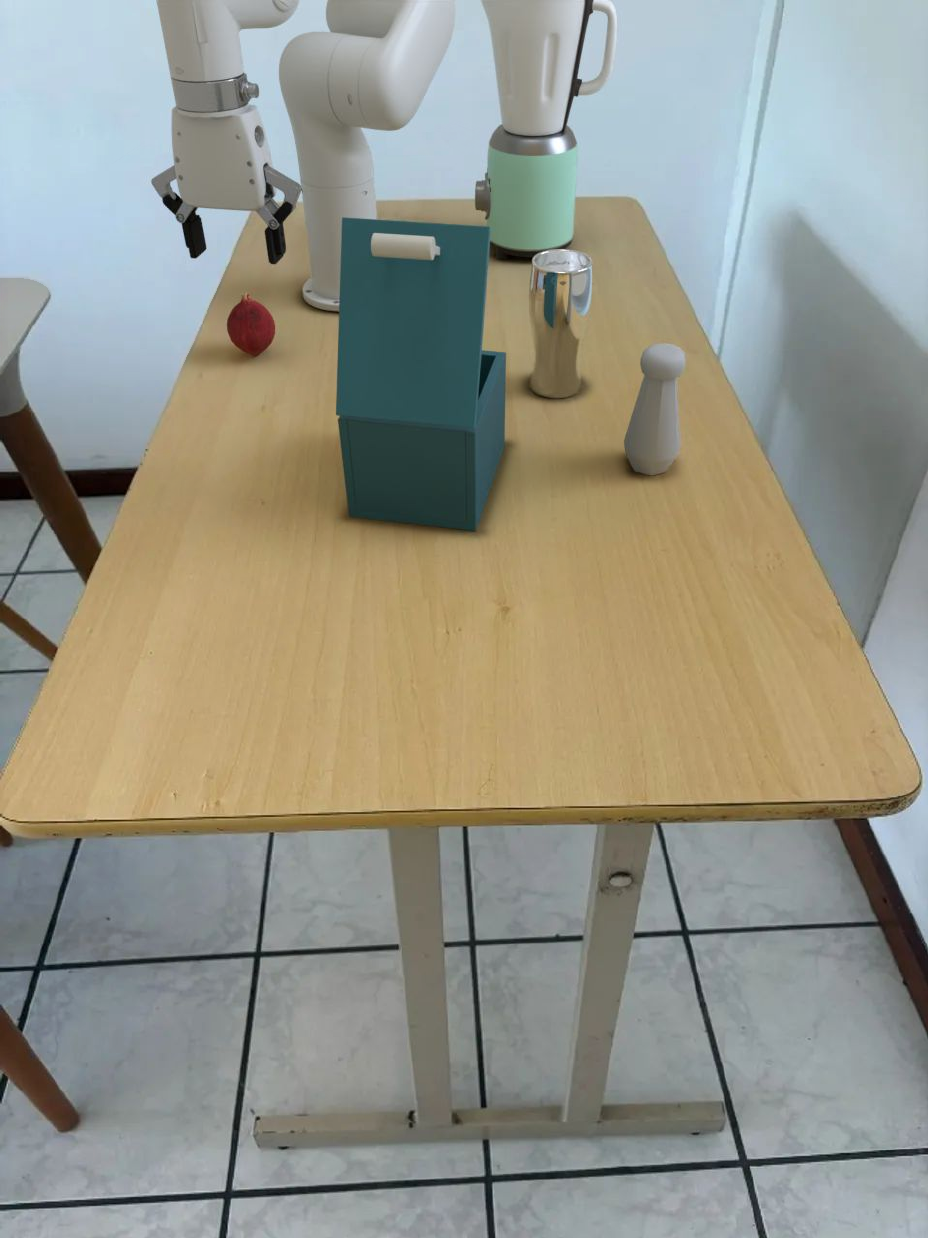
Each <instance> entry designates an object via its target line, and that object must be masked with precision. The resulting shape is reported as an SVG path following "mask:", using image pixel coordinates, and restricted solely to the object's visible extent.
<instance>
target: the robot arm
mask: <svg viewBox="0 0 928 1238" xmlns="http://www.w3.org/2000/svg"><path fill="white" fill-rule="evenodd" d="M300 2H301V1H300V0H156V5H157V10H158V15H159V21H160V27H161V33H162V37H163V42H164V43H163V44H164V49H165V54H166V59H167V65H168V71H169V75H170V81H171V84H172V91H173V97H174V102H175V106H174V107H173V108H172V109H171V146H172V156H173V157H172V159H173V165H171V166H170V167H169V168H167V169H165V170H163V171H162V172H160V173H158V174H157V175H155V176H154V177H153V178H152V179H151V181H150V182H151V185H152V187H153V188H154V190H155V191H156V193H157V194H158V196H159V197H160V198H161V200H162V204H163V206H165V207H166V208H167V209H168V210H169V211H170V212H171V213H172V214H173V215H174V216H175V217H174V218H175V220H176V221H177V222H178V223H179V224H181V228H182V234H183V238H184V239H183V240H184V243H185V247H186V248H187V249H188V254H189V257H190V259H197V258H199V257H200V256H201V255H202V254H204V252H205V251H206V250H207V242H206V237H205V232H204V227H203V221H202V218H201V215H200V214H197V210H198V209H199V208H200V209H210V210H211V209H213V210H225V211H226V210H228V211H241V212H242V211H246V212H256V214H258V216H259V217H260V218H261V220H262V221H264V223H265V224H266V225H267V227H266V228H265V229H264V239H265V246H266V252H267V259H268V260H267V261H268V263H269V264H270V265H277V264H278V263H279V261H280V260H281V259H282V258H284V255H285V254H286V252H287V243H286V235H285V228H284V222H285V221H286V220H287V219H288V217H289V216H290V215H291V214H292V213H293V212H294V210H295V209H296V207H297V203H298V201H299V197H300V195H301V197H302V205H303V212H304V213H303V214H304V221H305V230H306V237H307V245H308V246H307V247H308V254H309V262H310V263H309V264H310V271H311V277H310V278H308V279H307V280H306V281H305V283H304V284H303V286H302V289H301V290H302V297H303V300H304V301H305V302H306V303H307V304H308V305H310V306H312V307H314V308H316V309H320V310H324V311H327V312H336V313H339V299H340V267H341V235H342V218H343V217H345V218H362V219H378V211H377V199H376V197H377V196H376V184H375V183H376V182H375V167H374V159H373V154H372V151H371V148H370V144H369V142H368V140H367V137H366V136H365V134H364V132H363V130H362V129H368V130H375V131H383V132H384V131H385V132H386V131H387V132H392V131H397V130H401V129H403V128H404V127H406V126H407V125H408V124H409V123H410V122H411V121H412V120H413V118H414V117H415V115H416V113H417V112H418V110H419V109H420V106H421V104H422V102H423V100H424V98H425V97H426V94H427V93H428V90H429V88H430V87H431V84H432V82H433V80H434V78H435V76H436V73H437V72H438V70H439V68H440V66H441V64H442V62H443V60H444V57H445V55H446V54H447V51H448V48H449V47H450V44H451V40H452V37H453V32H454V28H455V23H456V22H455V21H456V0H327V1H326V7H325V21H326V25H327V27H328V29H329V31H309V32H303V33H301V34H298V35H296V36H294V37H293V38H292V39H291V40H290V41H288V43H287V44H286V45H285V47H284V48H283V50H282V53H281V55H280V59H279V63H278V80H279V86H280V92H281V95H282V99H283V102H284V105H285V110H286V111H287V115H288V118H289V122H290V125H291V130H292V133H293V134H292V135H293V138H294V144H295V148H296V150H295V151H296V156H297V157H296V158H297V163H298V171H299V172H298V173H299V179H300V180H299V181H300V183H298V182H296V181H295V180H294V179H292V178H290V177H289V176H288V175H287V176H286V175H285V174H283V173H282V172H280V171H278V170H276V168H274V165H273V159H272V155H271V150H270V146H269V142H268V139H267V135H266V131H265V127H264V124H263V121H262V118H261V114H260V112H259V109H258V106H257V105H256V104H249V102H250V101H251V100H252V99H258V98H259V96H260V88H259V85H258V83H253V82H251V81H249V80H248V76H247V75H248V74H247V73H245V67H244V60H243V52H242V46H241V39H240V31H242V30H251V29H252V30H253V29H272V28H277V27H279V26H281V25H283V24H285V23H286V22H287V21H288V20H290V18H292V16H293V15H294V14H295V12H296V10H297V9H298V6H299V3H300ZM174 180H176V185H177V189H178V192H179V195H178V193H176V192H175V191H174V190H173V188H172V186H171V183H172V182H173V181H174ZM277 189H278V190H279V191H281V192H282V193H283V195H284V197H283V201H282V204H281V205H279V204H278V202H276V201H275V199H274V198H275V197H276V196H277Z"/></svg>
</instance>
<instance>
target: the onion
mask: <svg viewBox="0 0 928 1238" xmlns="http://www.w3.org/2000/svg"><path fill="white" fill-rule="evenodd" d="M226 330H227V334H228V337H229V339H230V341H231V343H232V344H233V345H234V347H236V348H237V349H239V350H240V351H241V352H243V353H245V354H247V355H250V356H252V357H258V356H260V355H261V354H262V353H264V351H266V350H267V349H268V348H269V347H270V345H271V344H272V343H273V340H274V338H275V335H276V322H275V320H274V317H273V315H272V313H271V312H270V311H269V309H268V308H267V307H266V306H265V305H264V304H262V303H261V302H259V301H257V300H254V299H252V294H251V293H249V292H246V291H245V292H243V293H242V294H241V298H240V302H238V303H237V304H236V305H234V306H233V308H232V309H231V310H230V313H229V314H228V317H227V319H226Z"/></svg>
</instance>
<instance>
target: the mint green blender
mask: <svg viewBox="0 0 928 1238" xmlns="http://www.w3.org/2000/svg"><path fill="white" fill-rule="evenodd" d="M480 2H481V5H482V7H483V10H484V13H485V16H486V19H487V22H488V26H489V33H490V40H491V47H492V48H491V49H492V55H493V62H494V64H493V65H494V71H495V79H496V88H497V95H498V102H499V103H498V104H499V110H500V118H501V124H499V125H498V126H497V127H496V129H495V130H494V131H493V132H492V134H491V136H490V139H489V140H488V146H487V158H486V159H487V162H486V163H487V165H486V172H485V173H484V179H481V180H476V181H475V188H474V208H475V209H474V210H475V211H480V212H484V213H485V215H484V220H486V226H489V227H491V235H490V246H491V247H492V248H493V249H494V250H495V258H496V259H498V260H507V259H509V258H510V256H512V257H520V258H533V257H534V256H535V255H537V254H538V253H540V252H543V251H547V250H553V249H568V247H569V246H570V245H571V244H572V242H573V239H574V236H575V216H576V200H577V184H578V183H577V181H578V163H579V149H578V147H579V146H578V142H577V139H576V136H575V134H574V131H573V129H572V128H571V127H570V126H569V125H568V121H569V118H570V114H571V109H572V105H573V102H574V98H575V97H576V98H578V97H579V96H591V95H593V94H596V93H598V92H599V91H601V90H602V89H603V88H604V87H605V86H606V85H607V83H608V82H609V81H610V78H611V76H612V73H613V69H614V66H615V60H616V54H617V53H616V52H617V40H618V29H619V27H618V25H619V24H618V23H619V21H618V12H617V8H616V5H615V4H614V3H613V1H611V0H480ZM594 11H597V12H601V13H604V14H605V15H606V17H607V25H606V35H605V36H606V37H605V44H604V51H603V52H604V53H603V59H602V65H601V70H600V72H599V74H598V75H597V76H596V77H595V78H593V79H591V80H587V81H583V79H582V78H578V77H579V70H580V64H581V59H582V54H583V48H584V43H585V39H586V33H587V28H588V25H589V20H590V16H591V15H592V14H593V13H594Z"/></svg>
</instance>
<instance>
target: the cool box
mask: <svg viewBox="0 0 928 1238" xmlns="http://www.w3.org/2000/svg"><path fill="white" fill-rule="evenodd" d="M506 375H507V352H506V351H505V352H504V351H495V350H483V349H482V354H481V367H480V380H479V393H478V406H477V420H476V428H474V429H473V428H463V427H452V426H442V425H432V424H421V423H411V422H401V421H391V420H380V419H370V418H360V417H349V416H339V415H338V417H337V424H338V433H339V442H340V451H341V459H342V460H341V461H342V469H343V475H344V476H343V477H344V485H345V486H344V487H345V494H346V495H345V496H346V502H347V503H346V504H347V509H348V512H347V513H348V517H350V518H360V519H368V520H376V521H385V522H393V523H402V524H411V525H419V526H428V527H437V528H444V529H445V528H447V529H454V530H461V531H462V530H463V531H472V532H476V531H477V529H478V526H479V524H480V520H481V518H482V514H483V511H484V508H485V505H486V502H487V499H488V496H489V493H490V490H491V487H492V484H493V481H494V478H495V475H496V472H497V469H498V466H499V463H500V460H501V457H502V453H503V451H504V449H505V445H506V444H505V443H506V442H505V439H506V437H505V436H506V384H507V383H506V380H507V377H506Z"/></svg>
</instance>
